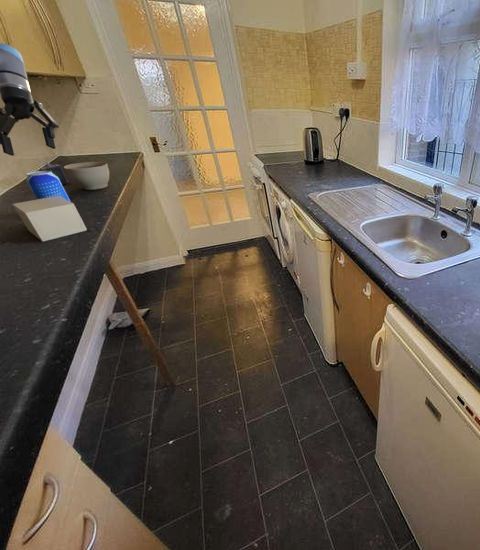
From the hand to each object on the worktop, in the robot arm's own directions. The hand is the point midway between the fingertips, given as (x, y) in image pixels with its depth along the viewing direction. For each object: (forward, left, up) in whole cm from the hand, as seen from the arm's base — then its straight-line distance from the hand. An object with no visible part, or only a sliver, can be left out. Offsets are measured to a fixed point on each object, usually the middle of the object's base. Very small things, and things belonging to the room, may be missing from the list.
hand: (30, 150), depth 104 cm
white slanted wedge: (+20, -7, -23) cm, 32 cm away
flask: (-54, +13, -23) cm, 60 cm away
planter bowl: (-34, +22, -23) cm, 46 cm away
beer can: (+2, -1, -23) cm, 23 cm away
